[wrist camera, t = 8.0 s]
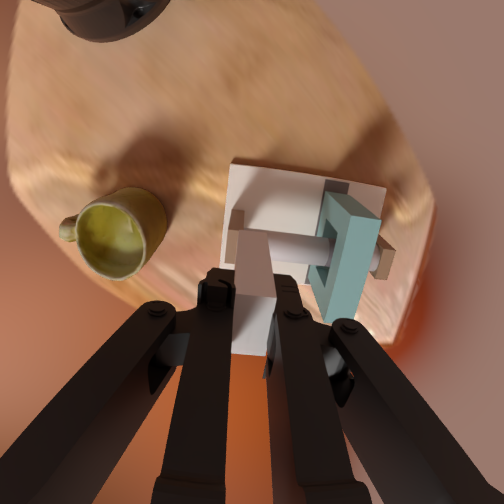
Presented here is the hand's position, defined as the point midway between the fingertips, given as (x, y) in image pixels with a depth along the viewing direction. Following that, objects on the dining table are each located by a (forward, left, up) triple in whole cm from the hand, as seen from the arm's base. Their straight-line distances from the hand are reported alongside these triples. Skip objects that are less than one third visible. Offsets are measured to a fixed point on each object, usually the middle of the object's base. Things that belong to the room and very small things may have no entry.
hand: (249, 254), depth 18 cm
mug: (+6, -15, -22) cm, 27 cm away
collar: (+5, +10, -20) cm, 23 cm away
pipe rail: (+5, +7, -21) cm, 23 cm away
